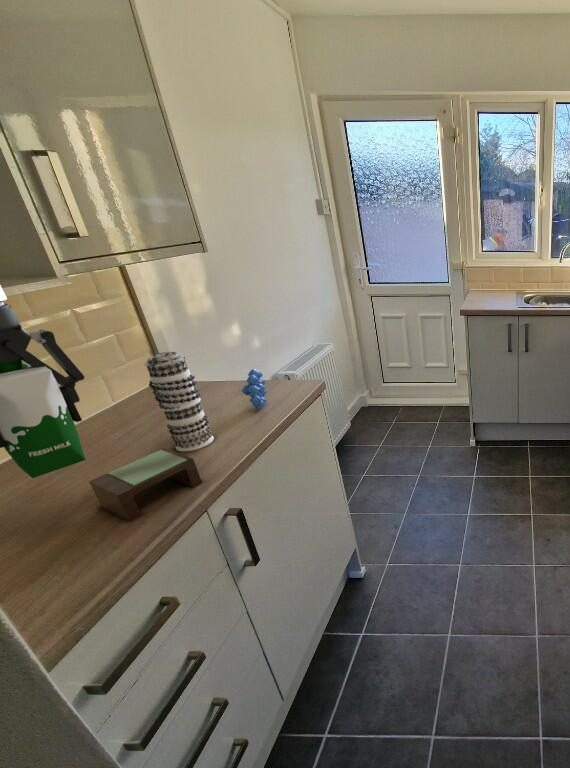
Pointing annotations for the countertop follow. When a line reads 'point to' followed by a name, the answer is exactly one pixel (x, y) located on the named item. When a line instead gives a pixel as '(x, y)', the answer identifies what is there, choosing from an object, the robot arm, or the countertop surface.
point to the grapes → (255, 389)
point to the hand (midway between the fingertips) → (40, 431)
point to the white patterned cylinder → (179, 401)
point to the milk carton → (36, 420)
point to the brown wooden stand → (142, 480)
